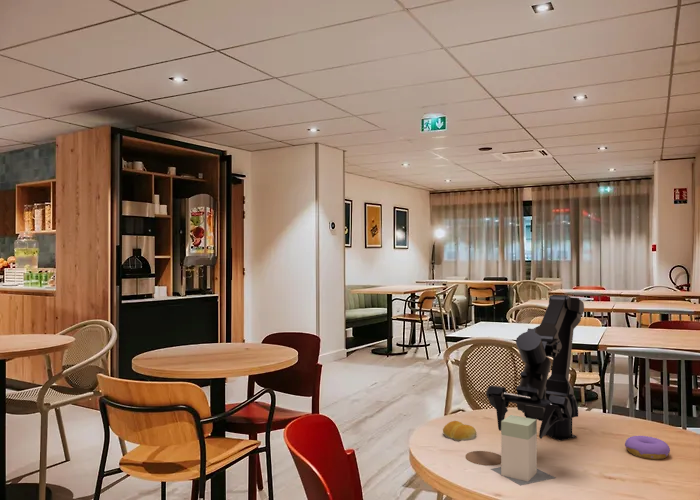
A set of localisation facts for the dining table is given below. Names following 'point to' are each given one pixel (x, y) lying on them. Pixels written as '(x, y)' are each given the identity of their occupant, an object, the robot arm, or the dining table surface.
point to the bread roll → (459, 431)
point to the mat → (536, 478)
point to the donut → (647, 447)
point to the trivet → (484, 458)
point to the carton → (519, 447)
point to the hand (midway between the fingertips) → (519, 433)
